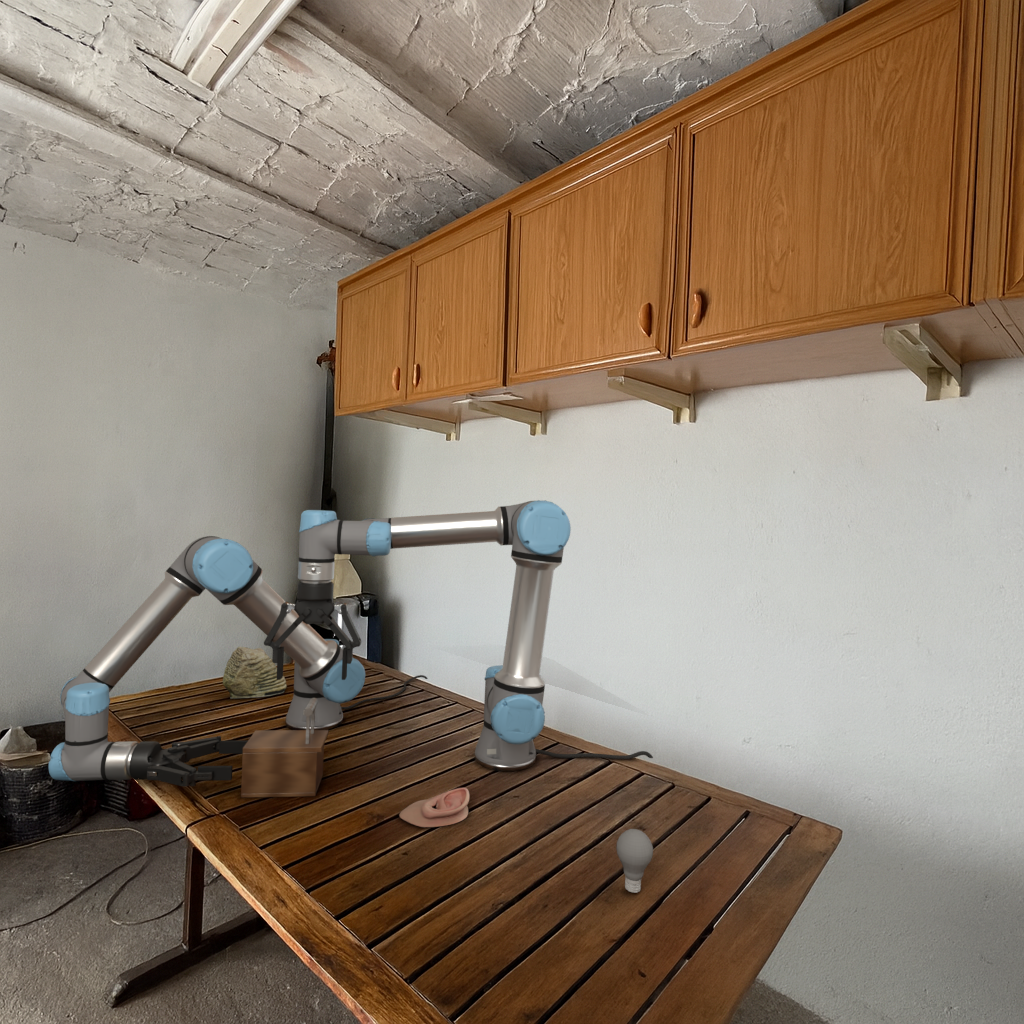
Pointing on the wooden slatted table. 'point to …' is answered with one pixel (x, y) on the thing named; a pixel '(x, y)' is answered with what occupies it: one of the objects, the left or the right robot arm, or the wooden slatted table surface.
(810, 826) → the wooden slatted table surface
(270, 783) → the chest
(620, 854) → the light bulb
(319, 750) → the lid
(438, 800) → the anatomical model
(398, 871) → the wooden slatted table surface
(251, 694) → the fossil
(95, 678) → the left robot arm
